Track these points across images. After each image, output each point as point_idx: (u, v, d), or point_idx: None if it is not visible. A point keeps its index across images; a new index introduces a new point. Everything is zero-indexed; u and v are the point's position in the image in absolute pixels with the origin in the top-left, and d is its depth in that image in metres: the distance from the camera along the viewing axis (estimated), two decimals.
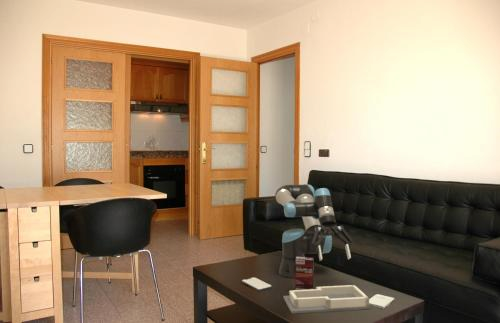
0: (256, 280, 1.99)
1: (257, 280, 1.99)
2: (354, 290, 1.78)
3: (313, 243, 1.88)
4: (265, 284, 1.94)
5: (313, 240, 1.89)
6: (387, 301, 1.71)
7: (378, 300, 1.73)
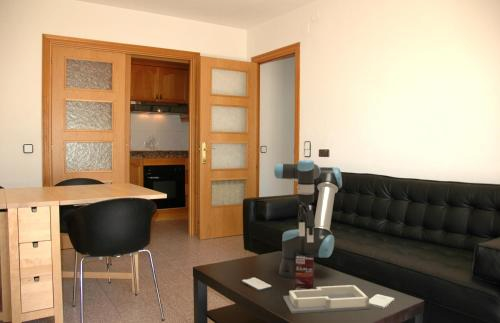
0: (257, 280, 1.99)
1: (257, 280, 1.99)
2: (354, 290, 1.78)
3: None
4: (265, 284, 1.94)
5: (298, 216, 1.94)
6: (387, 301, 1.71)
7: (378, 300, 1.73)
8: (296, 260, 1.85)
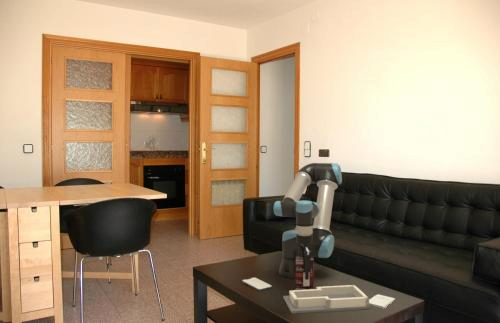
0: (257, 280, 1.99)
1: (257, 280, 1.99)
2: (354, 290, 1.78)
3: None
4: (265, 284, 1.94)
5: None
6: (387, 301, 1.71)
7: (379, 300, 1.72)
8: (296, 260, 1.84)
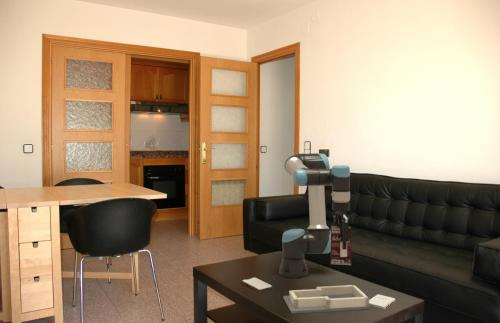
0: (257, 280, 1.99)
1: (258, 280, 1.99)
2: (354, 290, 1.78)
3: None
4: (266, 284, 1.93)
5: None
6: (388, 301, 1.71)
7: (379, 300, 1.72)
8: (332, 229, 1.70)
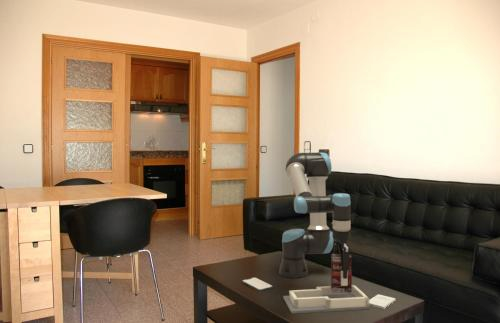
0: (257, 280, 1.99)
1: (258, 280, 1.99)
2: (354, 290, 1.78)
3: None
4: (266, 284, 1.93)
5: None
6: (388, 301, 1.70)
7: (379, 300, 1.72)
8: (333, 258, 1.71)
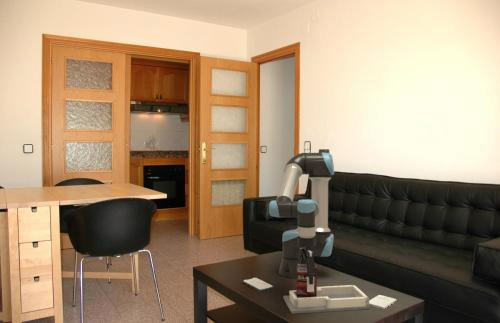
0: (258, 280, 1.99)
1: (258, 280, 1.99)
2: (354, 290, 1.78)
3: (298, 263, 1.79)
4: (266, 284, 1.93)
5: (298, 259, 1.79)
6: (388, 302, 1.70)
7: (379, 300, 1.72)
8: (298, 269, 1.68)
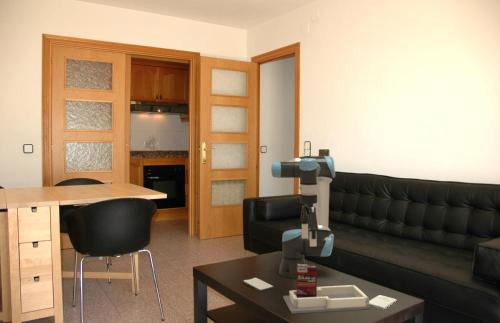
0: (258, 280, 1.99)
1: (259, 280, 1.99)
2: (354, 290, 1.78)
3: (300, 220, 1.84)
4: (267, 284, 1.93)
5: (301, 217, 1.83)
6: (388, 302, 1.70)
7: (380, 300, 1.72)
8: (298, 268, 1.69)
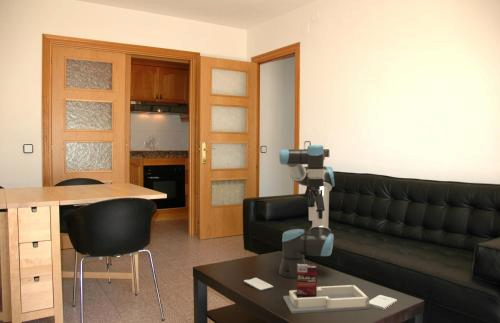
0: (258, 280, 1.99)
1: (259, 280, 1.99)
2: (354, 290, 1.78)
3: None
4: (267, 284, 1.93)
5: (308, 201, 1.97)
6: (389, 302, 1.70)
7: (380, 300, 1.72)
8: (298, 268, 1.69)
